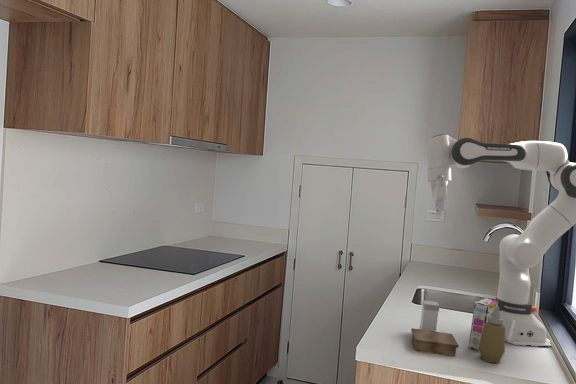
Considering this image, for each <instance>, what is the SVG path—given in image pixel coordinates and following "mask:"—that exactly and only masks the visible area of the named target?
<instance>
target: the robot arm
mask: <svg viewBox="0 0 576 384" xmlns="http://www.w3.org/2000/svg"><path fill="white" fill-rule="evenodd" d="M426 151H427V152H426V158H427V161H428V162H427V163H428V164H427V170H426V171H427V182H428V183H430V186H431V188H430V189H431V196H432V201H433V202H435V208H436V209H435V210H436V214H437V213H438V214H440V213H444V210H445V209H444V207H445V206H444V205H445V200H447V197H448V188H447V186H448V185H449V182H451V181H452V167H454V168H458V169H465V168H469V166H471V165H474V164H476V163H479V162H481V161H483V162H484V161H487V162H488V161H489V162H506V163H509V164H510V165H511V166H512V167H513V168H515V169H517V170H524V171H545V174H546V176H547V181H548V183H549V186H550V187H551V188H552V189H553V190H556V191H558V194H557V197H556V198H555V199H554V200H553V201H552V202H551V203H550V204H548V205H547V206H546V207H545V208H543V210H541V211H540V212H539V213H538V214H536V215H535V216H534V217H533V218H532V219H531V221H530V222H529V224H528V226H526V228H524V230H523V232H522V233H521V234H509V235H506V236H505V237H503V238H502V239H500V242H499V246H498V247H499V260H498V261H499V266H498V267H499V281H498V287H497V296H496V297H495V300H494V301H498V306H497V307H499V311H500V317H501V318H503V324H502V325H503V326H504V327H505V342H507V343H510V344H511V345H516V346H526V345H531V346H530V347H538V346H551V344H550V343H551V342H552V341H551V340H550V339H549V338H547V330H546V329H547V328H546V327H545V325H544V324H543V323H542V322H541V321H540V320H539V319H538V318H537V317H536V316H535V315H534V314H533V313H537V312H538V308H537V307H536V306H534V305H532V304H531V303H529V299H530V292H531V284H532V283H531V279H530V278H531V277H530V269H531V268H535V267H536V266H537V265H538V264H540V262H541V259H542V257H543V256H544V255H545V254H546V252H547V251H548V250H549V248H550V247H551V246H552V245H553V244H554V243H555V242H556V241H557V240H558V239H559V238H560V237H561V236H563V235H564V234H566V232H567V231H569V230H570V229H572V227H574V226H575V224H576V162H570V160H569V159H568V151H567V148H566V147H565V146H564V145H563V144H562V143H559V142H554V141H553V142H552V141H541V140H526V141H524V140H523V141H519V142H514V143H513V142H512V143H490V142H489V143H486V142H480V141H479V140H476V139H474V138H470V137H462V138H460V139H455V138H453V137H451V135H449V134H448V133H447V134H442V133H441V134H437V135H435V136H434V135H433V136H432V137H430V139H428V143H427V150H426ZM550 341H551V342H550Z"/></svg>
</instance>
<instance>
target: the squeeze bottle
mask: <svg viewBox="0 0 576 384" xmlns="http://www.w3.org/2000/svg"><path fill="white" fill-rule="evenodd" d="M502 324H503V318H501V317H500V311H499V307H497V306H495V309H494V311H493V314H492V316H488V322H485V323H484V327H483V331H482V335H481V339H480V343H479V355H480V358H481V360H483V361H485V362H488V363H492V364H498V363H501V362H500V361H501V360H502V358H503V356H504V354H505V351H506V350H505V349H506V341H505V327H504V326H503V325H502Z"/></svg>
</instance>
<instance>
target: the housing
mask: <svg viewBox="0 0 576 384" xmlns="http://www.w3.org/2000/svg"><path fill="white" fill-rule="evenodd" d="M421 306H422V307H421V317H420V323H419V329H421V330H428V331H435V332H437V325H438V319H439V317H438V316H439V311H440V305H439V303H438V301H431V300H424V299H423V300H422V304H421Z"/></svg>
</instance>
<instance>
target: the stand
mask: <svg viewBox="0 0 576 384" xmlns="http://www.w3.org/2000/svg"><path fill="white" fill-rule="evenodd" d="M411 333H412V336H411V342H412V345H413V348H414V351H415V352H422V353H430V354H436V355H442V356H450V357H456V355H457V354H456V353H457V349H458V348H459V343H458V341H457V340H456V338H455V337H454V335H453V334H452V333H449V332H443V331H442V332H441V331H436V332H435V331H428V330H421V329H420V328H414V327H413V328H412V327H411Z"/></svg>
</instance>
